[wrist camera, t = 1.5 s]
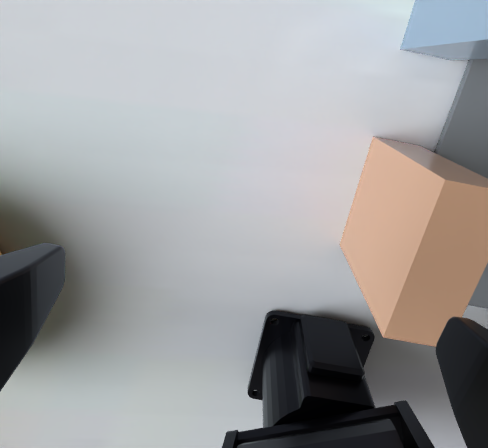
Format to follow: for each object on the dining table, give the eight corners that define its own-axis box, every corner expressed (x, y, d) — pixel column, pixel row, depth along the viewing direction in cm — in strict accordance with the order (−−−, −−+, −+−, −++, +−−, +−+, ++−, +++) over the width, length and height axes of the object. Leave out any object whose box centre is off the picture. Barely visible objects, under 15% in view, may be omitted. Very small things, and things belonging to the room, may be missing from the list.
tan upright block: (384, 252, 22) (450, 349, 14) (339, 244, 22) (383, 337, 14) (422, 146, 20) (524, 195, 12) (373, 136, 19) (445, 179, 12)
